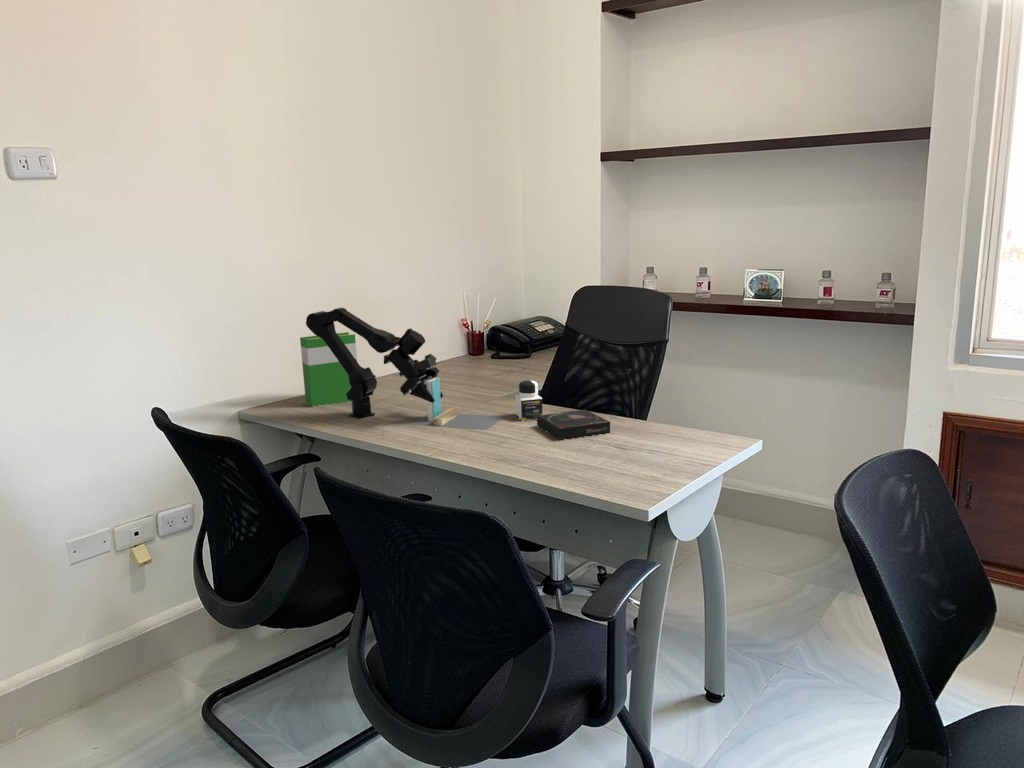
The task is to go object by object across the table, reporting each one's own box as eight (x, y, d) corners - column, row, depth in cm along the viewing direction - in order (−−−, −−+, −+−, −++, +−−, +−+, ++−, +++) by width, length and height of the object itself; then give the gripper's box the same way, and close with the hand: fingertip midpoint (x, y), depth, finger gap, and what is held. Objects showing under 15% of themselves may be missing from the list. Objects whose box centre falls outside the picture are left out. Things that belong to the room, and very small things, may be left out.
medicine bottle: (521, 421, 245) (520, 384, 242) (515, 415, 251) (514, 380, 249) (543, 419, 247) (542, 382, 244) (536, 413, 253) (535, 378, 251)
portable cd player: (584, 421, 245) (584, 409, 244) (610, 434, 229) (610, 421, 228) (537, 427, 239) (536, 415, 238) (560, 442, 223) (559, 428, 223)
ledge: (433, 425, 241) (432, 419, 241) (450, 413, 254) (450, 408, 254) (441, 425, 240) (441, 419, 240) (459, 414, 253) (458, 408, 253)
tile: (428, 421, 246) (426, 381, 243) (436, 416, 252) (434, 377, 249) (434, 421, 245) (432, 381, 243) (441, 416, 251) (439, 377, 248)
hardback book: (352, 396, 286) (347, 332, 280) (359, 399, 279) (355, 334, 274) (305, 403, 277) (300, 337, 271) (312, 407, 270) (306, 340, 265)
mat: (410, 425, 243) (410, 424, 243) (431, 413, 258) (431, 411, 258) (486, 431, 234) (486, 429, 234) (504, 417, 249) (504, 416, 249)
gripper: (407, 352, 236) (441, 389, 235) (432, 342, 253) (464, 376, 252) (385, 376, 240) (419, 412, 239) (412, 365, 258) (444, 398, 256)
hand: (438, 399), depth 247 cm, fingers closed on tile, 6 cm apart
